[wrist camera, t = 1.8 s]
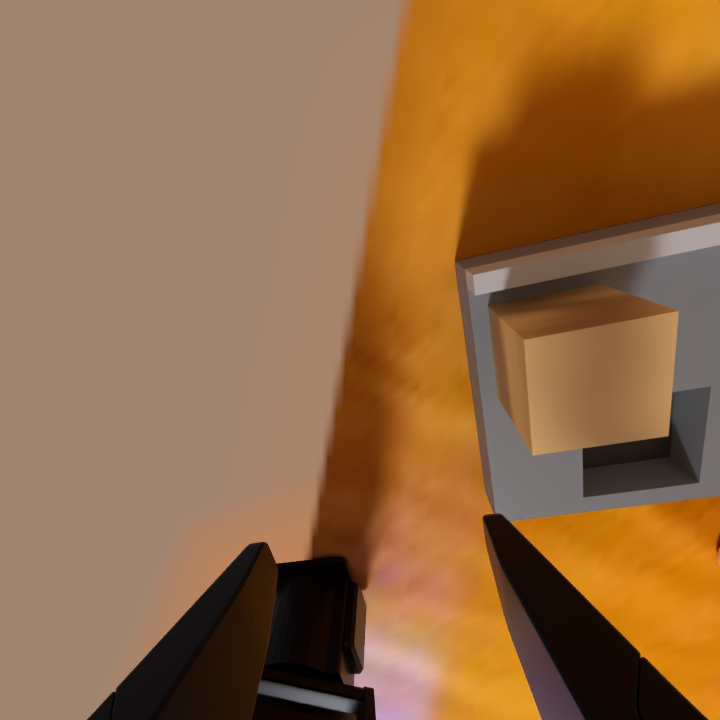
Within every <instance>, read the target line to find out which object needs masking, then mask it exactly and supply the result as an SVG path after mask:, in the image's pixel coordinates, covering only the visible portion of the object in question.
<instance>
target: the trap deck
mask: <svg viewBox="0 0 720 720" xmlns="http://www.w3.org/2000/svg"><path fill="white" fill-rule="evenodd" d="M455 268H456V275H457V283H458V290H459V298H460V305H461V313H462V320H463V327H464V335H465V342H466V350H467V357H468V365H469V372H470V379H471V387H472V394H473V402H474V409H475V417H476V424H477V432H478V439H479V446H480V454H481V461H482V469H483V476H484V484H485V491H486V494H487V496H488V499H489V502H490V505H491V508H492V511H493V513H494V514H496V513H500V514H502V515H503V516H504V517H506V519H507V520H508V521H515V520H524V519H532V518H540V517H548V516H557V515H565V514H573V513H581V512H590V511H598V510H606V509H614V508H623V507H631V506H639V505H647V504H656V503H664V502H672V501H680V500H688V499H697V498H705V497H713V496H720V203H716V204H711V205H707V206H702V207H698V208H693V209H689V210H684V211H680V212H675V213H670V214H666V215H661V216H657V217H652V218H648V219H643V220H639V221H634V222H630V223H625V224H621V225H616V226H612V227H607V228H603V229H598V230H594V231H589V232H585V233H580V234H576V235H571V236H567V237H562V238H558V239H553V240H549V241H544V242H540V243H535V244H530V245H526V246H521V247H517V248H512V249H508V250H503V251H499V252H494V253H490V254H485V255H481V256H476V257H472V258H467V259H463V260H458V261H455ZM598 283H600V284H603V285H605V286H608V287H611V288H614V289H617V290H620V291H623V292H626V293H628V294H631V295H634V296H637V297H640V298H643V299H646V300H649V301H651V302H654V303H657V304H660V305H663V306H666V307H669V308H672V309H674V310H677V311H679V315H678V327H677V339H676V352H675V364H674V376H673V388H672V400H671V412H670V424H669V436H666V437H659V438H652V439H645V440H638V441H631V442H624V443H617V444H610V445H603V446H596V447H589V448H583V449H576V450H569V451H562V452H555V453H548V454H541V455H534V456H532V454H531V452H530V451H529V449H528V447H527V446H526V444H525V442H524V441H523V439H522V437H521V436H520V434H519V432H518V431H517V429H516V427H515V426H514V424H513V422H512V420H511V419H510V417H509V415H508V414H507V412H506V410H505V409H504V407H503V405H502V404H501V402H500V400H499V399H498V396H497V387H496V378H495V368H494V359H493V350H492V341H491V331H490V322H489V313H488V306H489V305H494V304H499V303H504V302H509V301H514V300H519V299H524V298H529V297H534V296H539V295H544V294H549V293H554V292H559V291H564V290H569V289H573V288H578V287H583V286H588V285H593V284H598Z"/></svg>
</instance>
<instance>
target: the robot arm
mask: <svg viewBox="0 0 720 720" xmlns="http://www.w3.org/2000/svg"><path fill="white" fill-rule="evenodd" d="M483 526H484V533H485V540H486V546H487V551H488V555H489V559H490V562H491V566H492V570H493V574H494V578H495V582H496V585H497V589H498V593H499V597H500V601H501V605H502V609H503V612H504V616H505V619H506V623H507V626H508V629H509V632H510V635H511V638H512V641H513V643H514V646H515V649H516V651H517V654H518V657H519V659H520V662H521V665H522V667H523V670H524V673H525V675H526V678H527V681H528V683H529V686H530V689H531V691H532V694H533V697H534V700H535V702H536V705H537V708H538V710H539V713H540V716H541V718H542V720H708V719H707V718H706V717H705V716H704V715H703V714H702V713H701V712H700V711H699V710H698V709H697V708H696V707H695V706H693V705H692V704H691V703H690V702H689V701H688V700H687V699H686V698H685V697H684V696H683V695H682V694H681V693H680V692H679V691H678V690H677V689H676V688H675V687H674V686H673V685H672V684H671V683H670V682H669V681H668V680H667V679H666V678H665V677H664V676H663V675H662V674H661V673H660V672H659V671H658V670H657V669H656V668H655V667H654V666H653V665H652V664H651V663H650V662H649V661H648V660H647V659H646V658H644V657H641V659H640V653H639V651H638V650H637V649H636V648H635V647H634V646H633V645H632V644H631V643H630V642H629V641H628V640H627V639H626V638H625V637H624V636H623V635H622V634H621V633H620V632H619V631H618V630H617V629H616V628H615V627H614V626H613V625H612V624H611V623H610V622H609V621H608V620H607V619H606V618H605V617H604V616H603V615H602V614H601V613H600V612H599V611H598V610H597V609H596V608H595V607H594V606H593V605H592V604H591V603H590V602H589V601H588V600H587V599H586V598H585V597H584V596H583V595H582V594H581V593H580V592H579V591H578V590H577V589H576V588H575V587H574V586H573V585H572V584H571V583H570V582H569V581H568V580H567V579H566V578H565V577H564V576H563V575H562V574H561V573H560V572H559V571H558V570H557V569H556V568H555V567H554V566H553V565H552V564H551V563H550V562H549V561H548V560H547V559H546V558H545V557H544V556H543V555H542V554H541V553H540V552H539V551H538V550H537V549H536V548H535V547H534V546H533V545H532V544H531V543H530V542H529V541H528V540H527V539H526V538H525V537H524V536H523V535H522V534H521V533H520V532H519V531H518V530H517V529H516V528H515V527H514V526H513V525H512V524H511V523H510V522H509V521H508V520H507V519H506V517H504V516H503V515H502V514H500V513H496V514H488V515H484V516H483ZM365 624H366V606H365V603H364V600H363V596H362V593H361V590H360V587H359V585H358V584H357V583H356V582H354V580H353V577H352V574H351V571H350V568H349V565H348V562H347V560H346V559H345V558H344V557H330V558H322V559H313V560H304V561H296V562H288V563H278V564H276V562H275V560H274V557H273V555H272V553H271V550H270V548H269V546H268V544H267V543H265V542H260V543H253V544H249V545H248V546H247V547H246V548H245V549H244V550H243V551H242V552H241V553H240V554H239V556H238V557H237V558H236V559H235V560H234V561H233V562H232V563H231V564H230V565H229V566H228V567H227V569H226V570H225V571H224V572H223V573H222V574H221V575H220V576H219V577H218V578H217V580H215V582H214V583H213V584H212V585H211V586H210V587H209V588H208V589H207V590H206V592H205V593H204V594H203V595H202V596H201V597H200V598H199V599H198V600H197V601H196V602H195V603H194V604H193V605H192V607H191V608H190V609H189V610H188V611H187V612H186V613H185V614H184V615H183V616H182V617H181V618H180V620H179V621H178V622H177V623H176V624H175V625H174V626H173V627H172V628H171V629H170V630H169V632H168V633H167V634H166V635H165V636H164V637H163V638H162V639H161V640H160V641H159V642H158V644H157V645H156V646H155V647H154V648H153V649H152V650H151V651H150V652H149V653H148V654H147V656H145V658H144V659H143V660H142V661H141V662H140V663H139V664H138V665H137V666H136V667H135V669H134V670H133V671H132V672H131V673H130V674H129V675H128V676H127V677H126V678H125V679H124V681H122V683H121V684H120V685H119V686H118V687H117V688H116V692H112V694H110V695H109V697H108V698H107V699H106V700H105V701H104V702H103V703H102V704H101V705H100V706H99V708H97V710H96V711H95V712H94V713H93V714H92V715H91V716H90V717H89V718H88V719H87V720H376V715H375V700H374V689H373V688H370V687H365V686H364V688H360V687H356V686H354V674H360V673H361V672H362V670H363V666H364V645H365Z"/></svg>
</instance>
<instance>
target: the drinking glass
mask: <svg viewBox="0 0 720 720" xmlns="http://www.w3.org/2000/svg"><path fill="white" fill-rule="evenodd" d="M718 563H719V566H720V547H719V550H718Z"/></svg>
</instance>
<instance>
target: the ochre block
mask: <svg viewBox="0 0 720 720" xmlns="http://www.w3.org/2000/svg"><path fill="white" fill-rule="evenodd" d="M488 313H489V322H490V331H491V341H492V350H493V359H494V368H495V378H496V387H497V396H498V399H499V400H500V402H501V404H502V405H503V407H504V409H505V410H506V412H507V414H508V415H509V417H510V419H511V420H512V422H513V424H514V426H515V427H516V429H517V431H518V432H519V434H520V436H521V437H522V439H523V441H524V442H525V444H526V446H527V447H528V449H529V451H530V452H531V454H532V456H534V455H541V454H548V453H555V452H562V451H569V450H576V449H583V448H589V447H596V446H603V445H610V444H617V443H624V442H631V441H638V440H645V439H652V438H659V437H666V436H669V424H670V412H671V400H672V388H673V376H674V364H675V352H676V339H677V327H678V315H679V311H677V310H674V309H672V308H669V307H666V306H663V305H660V304H657V303H654V302H651V301H649V300H646V299H643V298H640V297H637V296H634V295H631V294H628V293H626V292H623V291H620V290H617V289H614V288H611V287H608V286H605V285H603V284H600V283H598V284H593V285H588V286H583V287H578V288H573V289H569V290H564V291H559V292H554V293H549V294H544V295H539V296H534V297H529V298H524V299H519V300H514V301H509V302H504V303H499V304H494V305H489V306H488Z"/></svg>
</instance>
